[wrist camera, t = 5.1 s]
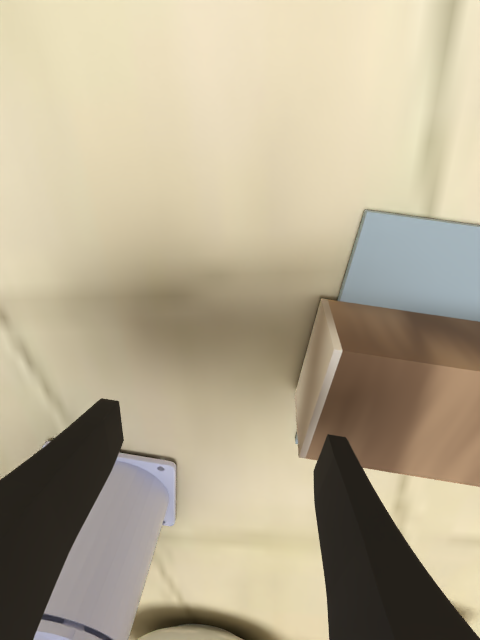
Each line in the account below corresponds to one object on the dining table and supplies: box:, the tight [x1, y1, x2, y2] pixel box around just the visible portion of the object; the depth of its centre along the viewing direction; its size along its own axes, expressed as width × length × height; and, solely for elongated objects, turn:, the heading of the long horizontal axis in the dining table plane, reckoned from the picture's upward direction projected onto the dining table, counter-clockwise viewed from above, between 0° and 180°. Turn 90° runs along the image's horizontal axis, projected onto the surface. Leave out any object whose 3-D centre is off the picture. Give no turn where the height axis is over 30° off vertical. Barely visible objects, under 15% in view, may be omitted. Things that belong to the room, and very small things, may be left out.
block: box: [295, 298, 480, 487], centre depth 14 cm, size 4×6×8 cm
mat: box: [295, 210, 480, 444], centre depth 16 cm, size 10×14×1 cm
